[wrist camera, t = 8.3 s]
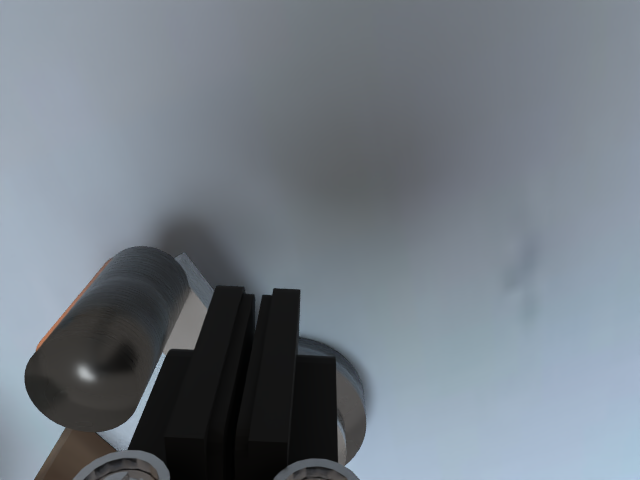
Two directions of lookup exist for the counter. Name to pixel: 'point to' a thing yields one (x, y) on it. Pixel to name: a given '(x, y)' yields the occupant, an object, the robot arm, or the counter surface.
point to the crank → (121, 340)
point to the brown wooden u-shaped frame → (73, 454)
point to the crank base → (343, 394)
